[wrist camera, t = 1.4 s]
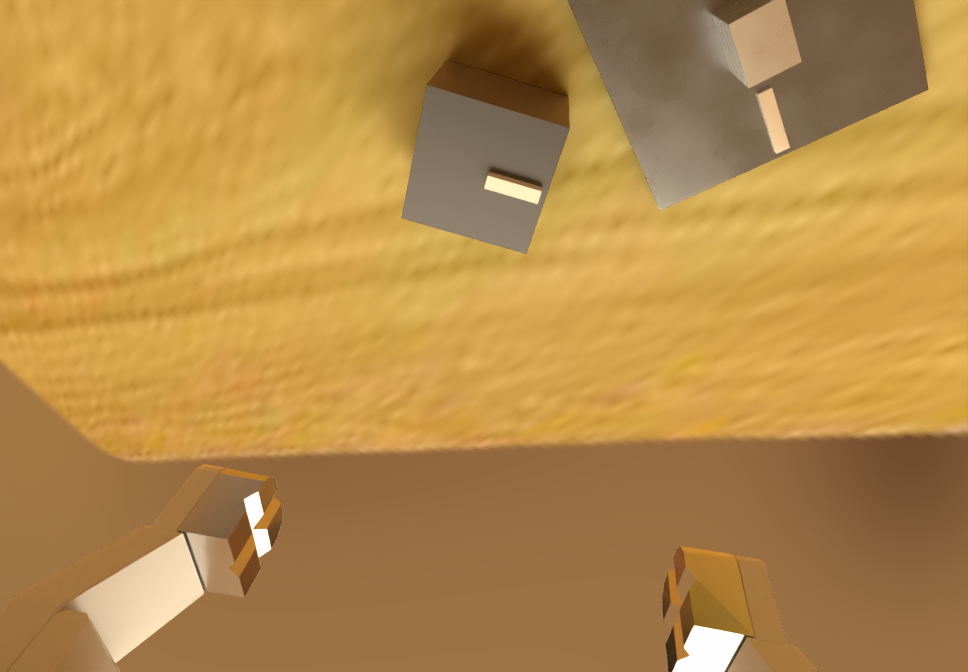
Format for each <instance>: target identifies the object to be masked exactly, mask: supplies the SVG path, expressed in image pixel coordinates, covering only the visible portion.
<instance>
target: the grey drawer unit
mask: <svg viewBox="0 0 968 672" xmlns="http://www.w3.org/2000/svg"><path fill="white" fill-rule="evenodd" d="M569 129H570V124H569V101H568V96H565V95H562V94H558V93H555V92H552V91H549V90H545V89H542V88H539V87H536V86H532V85H529V84H526V83H522V82H519V81H516V80H513V79H509V78H506V77H503V76H500V75H496V74H493V73H490V72H487V71H483V70H480V69H477V68H473V67H470V66H467V65H464V64H460V63H457V62H454V61H451V60H446V62H445V63H444V64H443V65H442V67H441V68H440V69H439V70H438V72H437V73H436V74H435V75H434V77H433V78H432V79H431V80H430V82H429V83H428V84H427V87H426V92H425V97H424V103H423V108H422V113H421V118H420V123H419V129H418V134H417V139H416V144H415V150H414V155H413V160H412V165H411V170H410V176H409V181H408V186H407V191H406V197H405V202H404V207H403V212H402V219H406V220H409V221H413V222H416V223H420V224H423V225H427V226H430V227H434V228H437V229H441V230H444V231H448V232H451V233H455V234H458V235H462V236H465V237H469V238H472V239H476V240H479V241H483V242H486V243H490V244H493V245H496V246H500V247H503V248H507V249H510V250H514V251H517V252H521V253H524V254H527V251H528V248H529V245H530V242H531V239H532V236H533V233H534V230H535V227H536V225H537V222H538V219H539V216H540V213H541V210H542V207H543V204H544V201H545V198H546V196H547V193H548V190H549V187H550V184H551V181H552V178H553V175H554V172H555V169H556V166H557V164H558V161H559V158H560V155H561V152H562V149H563V146H564V143H565V140H566V137H567V134H568V132H569Z"/></svg>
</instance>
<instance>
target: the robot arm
mask: <svg viewBox="0 0 968 672" xmlns="http://www.w3.org/2000/svg"><path fill="white" fill-rule="evenodd" d="M277 490H278V487H277V484H276V479H275V478H272V477H267V476H262V475H257V474H252V473H247V472H242V471H237V470H232V469H228V468H222V467H216V466H211V465H205V464H203V465H202V466H200V467H198V468H197V469H196V470H195V471H194V472H193V473H192V475H191V476H190V477H189V478H188V480H187V481H186V482H185V483H184V485H183V486H182V487H181V489H180V490H179V491H178V492H177V494H176V495H175V496H174V498H173V499H172V500H171V501H170V503H169V504H168V505H167V507H166V508H165V509H164V511H163V512H162V513H161V514H160V515H159V517H158V518H157V519H156V521H155V522H154V523H153V525H152V526H151V527H149V526H143V527H141V528H139V529H137V530H135V531H133V532H132V533H130V534H128V535H126V536H124V537H122V538H121V539H119V540H117V541H115V542H113V543H111V544H110V545H108V546H106V547H104V548H103V549H100V550H99V551H97V552H95V553H93V554H91V555H89V556H88V557H86V558H84V559H82V560H80V561H79V562H77V563H75V564H73V565H71V566H69V567H67V568H66V569H64V570H62V571H60V572H58V573H56V574H55V575H53V576H51V577H49V578H47V579H46V580H44V581H42V582H40V583H38V584H37V585H35V586H33V587H31V588H29V589H27V590H25V591H24V592H22V593H20V594H18V595H16V596H15V597H14V598H13V599H12V600H11V601H10V602H9V603H8V604H7V605H6V606H5V608H4V609H3V610H2V611H1V612H0V672H120V670H119V669H118V667H117V665H116V662H117V661H119V660H120V659H121V658H123V657H124V656H125V655H126V654H127V653H129V652H130V651H131V650H133V649H134V648H135V647H137V646H138V645H139V644H140V643H142V642H143V641H144V640H145V639H147V638H148V637H149V636H151V635H152V634H153V633H154V632H156V631H157V630H158V629H159V628H161V627H162V626H163V625H165V624H166V623H167V622H168V621H170V620H171V619H172V618H173V617H175V616H176V615H177V614H179V613H180V612H181V611H182V610H184V609H185V608H186V607H187V606H189V605H190V604H191V603H192V602H194V601H195V600H196V599H198V598H199V597H200V596H201V595H203V594H204V591H209V592H216V593H221V594H227V595H234V596H241V597H245V596H246V594H247V592H248V591H249V588H250V587H251V585H252V583H253V582H254V580H255V578H256V576H257V574H258V573H259V571H260V569H261V566H260V561H259V557H260V556H261V555H263V554H264V553H266V552H268V551H269V550H271V549H272V547H273V545H274V543H275V541H276V539H277V537H278V534H279V531H280V527H281V524H282V507H281V503H280V502H279V501H278V500H277V499H276V498H275V497H274V495H275V493H276V492H277ZM673 559H674V569H672V570H671V571H669V572H668V573H667V576H666V579H665V582H664V589H663V595H662V611H663V622H664V623H665V624H666V626H667V627H668V629H669V630H670V631H671V632H670V634H669V637H668V639H667V642H666V655H667V665H668V672H818V671H817V670H816V669H815V668H814V667H813V665H812V664H811V663H810V662H809V661H808V660H807V658H805V656H804V655H803V654H802V653H801V652H800V650H799V649H798V648H797V647H796V646H793V645H789V644H787V642H786V638H785V634H784V631H783V627H782V623H781V620H780V616H779V612H778V608H777V605H776V602H775V598H774V594H773V590H772V587H771V583H770V580H769V576H768V572H767V568H766V565H765V564H764V563H763V561H762V560H759V559H753V558H747V557H741V556H735V555H732V554H727V553H720V552H714V551H707V550H701V549H695V548H688V547H682V546H680V547H679V548H678V549H677V550H676V552H675V555H674V557H673Z"/></svg>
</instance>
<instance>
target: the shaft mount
mask: <svg viewBox="0 0 968 672" xmlns="http://www.w3.org/2000/svg"><path fill="white" fill-rule="evenodd" d="M568 2H569V4H570V6H571V9H572V11H573V13H574V16H575V18H576V20H577V22H578V25H579V27H580V29H581V31H582V34H583V36H584V38H585V41H586V43H587V45H588V47H589V50H590V52H591V54H592V56H593V59H594V61H595V63H596V66H597V68H598V70H599V72H600V75H601V77H602V79H603V82H604V84H605V86H606V88H607V91H608V93H609V95H610V97H611V100H612V102H613V104H614V107H615V109H616V111H617V113H618V116H619V118H620V120H621V122H622V125H623V127H624V129H625V132H626V134H627V136H628V138H629V141H630V143H631V145H632V148H633V150H634V152H635V154H636V157H637V159H638V161H639V163H640V166H641V168H642V170H643V173H644V175H645V177H646V179H647V182H648V184H649V186H650V188H651V191H652V193H653V195H654V198H655V200H656V202H657V204H658V207H659V209H660V211H661V210H663V209H665V208H667V207H669V206H672V205H674V204H676V203H678V202H681V201H683V200H685V199H687V198H689V197H692V196H694V195H696V194H698V193H700V192H703V191H705V190H707V189H709V188H712V187H714V186H716V185H718V184H720V183H723V182H725V181H727V180H729V179H731V178H734V177H736V176H738V175H740V174H743V173H745V172H747V171H749V170H751V169H754V168H756V167H758V166H760V165H763V164H765V163H767V162H769V161H771V160H774V159H776V158H778V157H780V156H782V155H785V154H787V153H789V152H791V151H794V150H796V149H798V148H800V147H802V146H805V145H807V144H809V143H811V142H813V141H816V140H818V139H820V138H822V137H825V136H827V135H829V134H831V133H833V132H836V131H838V130H840V129H842V128H845V127H847V126H849V125H851V124H853V123H856V122H858V121H860V120H862V119H864V118H867V117H869V116H871V115H873V114H876V113H878V112H880V111H882V110H884V109H887V108H889V107H891V106H893V105H895V104H898V103H900V102H902V101H904V100H907V99H909V98H911V97H913V96H915V95H918V94H920V93H922V92H924V91H927V90H928V84H927V78H926V72H925V66H924V60H923V54H922V49H921V43H920V37H919V31H918V25H917V19H916V13H915V7H914V1H913V0H568Z"/></svg>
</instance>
